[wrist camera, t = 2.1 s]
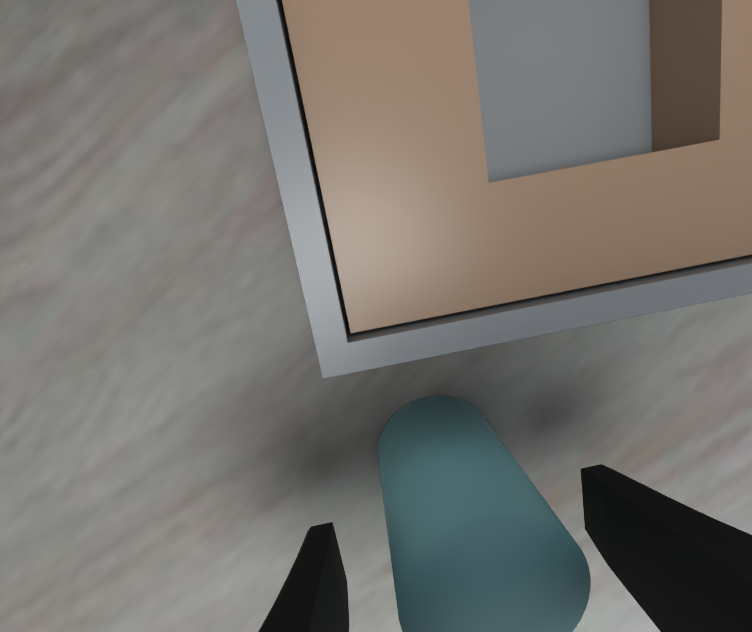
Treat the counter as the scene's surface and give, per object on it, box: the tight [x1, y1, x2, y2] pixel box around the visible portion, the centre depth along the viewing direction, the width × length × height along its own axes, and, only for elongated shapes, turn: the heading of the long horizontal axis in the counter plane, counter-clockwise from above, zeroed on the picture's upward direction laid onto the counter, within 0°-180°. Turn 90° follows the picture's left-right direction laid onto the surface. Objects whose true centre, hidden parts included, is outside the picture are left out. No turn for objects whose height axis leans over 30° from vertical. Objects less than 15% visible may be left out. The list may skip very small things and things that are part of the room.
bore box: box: [236, 0, 752, 379], centre depth 10 cm, size 16×14×4 cm
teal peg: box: [377, 396, 590, 632], centre depth 11 cm, size 4×4×6 cm
